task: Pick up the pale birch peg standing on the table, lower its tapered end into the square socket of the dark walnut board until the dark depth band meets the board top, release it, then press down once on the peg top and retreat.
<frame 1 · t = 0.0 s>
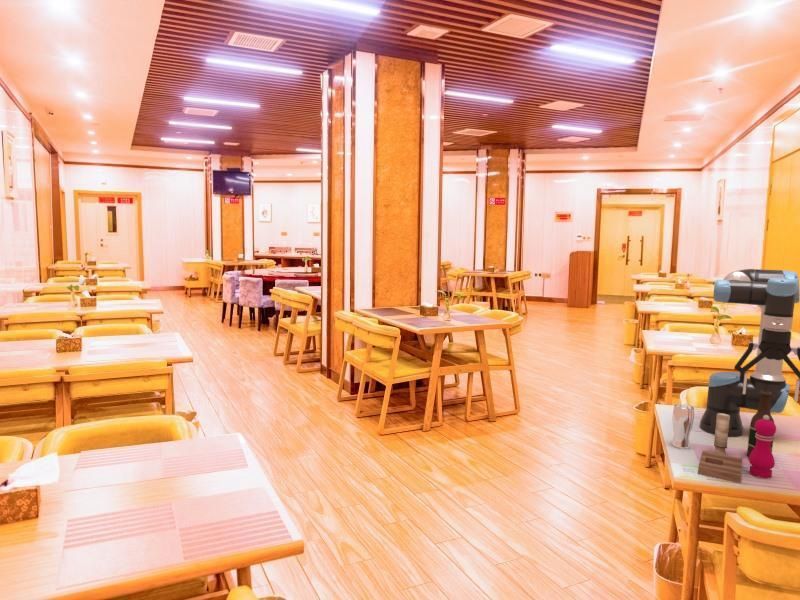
hand: (769, 397, 180), 28 cm above the table, tool pointing down, fingers open, 13 cm apart
beer bottle: (758, 458, 205), on the table
beer glass: (680, 446, 214), on the table
peg: (719, 452, 208), on the table
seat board: (720, 469, 194), on the table
pepper mill: (760, 474, 191), on the table
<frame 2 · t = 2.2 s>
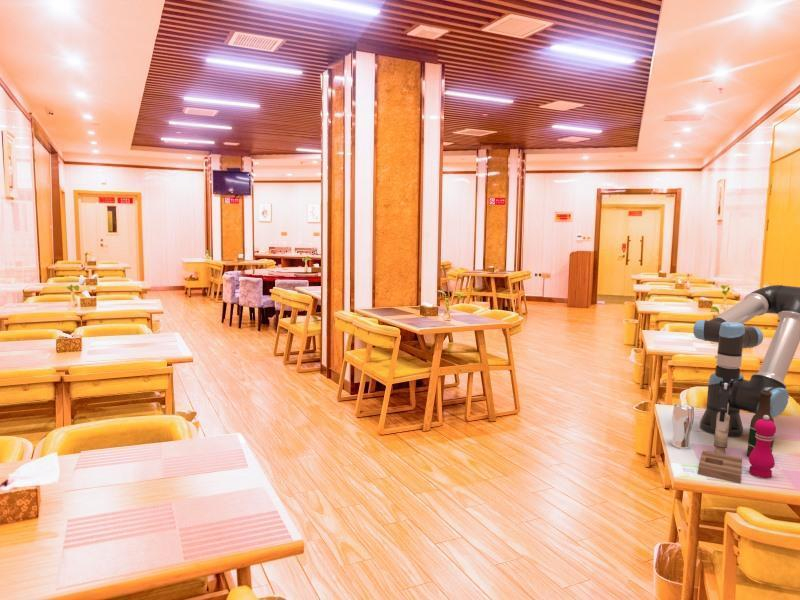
hand: (721, 425, 207), 10 cm above the table, tool pointing down, fingers open, 13 cm apart
nothing on the table moved.
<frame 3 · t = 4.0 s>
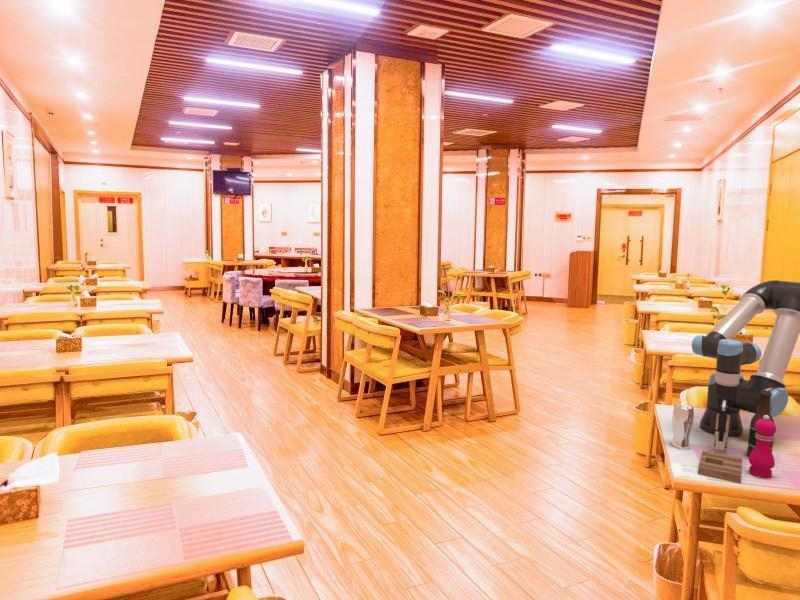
hand: (720, 447, 208), 2 cm above the table, tool pointing down, fingers closed on peg, 4 cm apart
peg: (719, 452, 208), on the table, touching gripper
everything else where it was.
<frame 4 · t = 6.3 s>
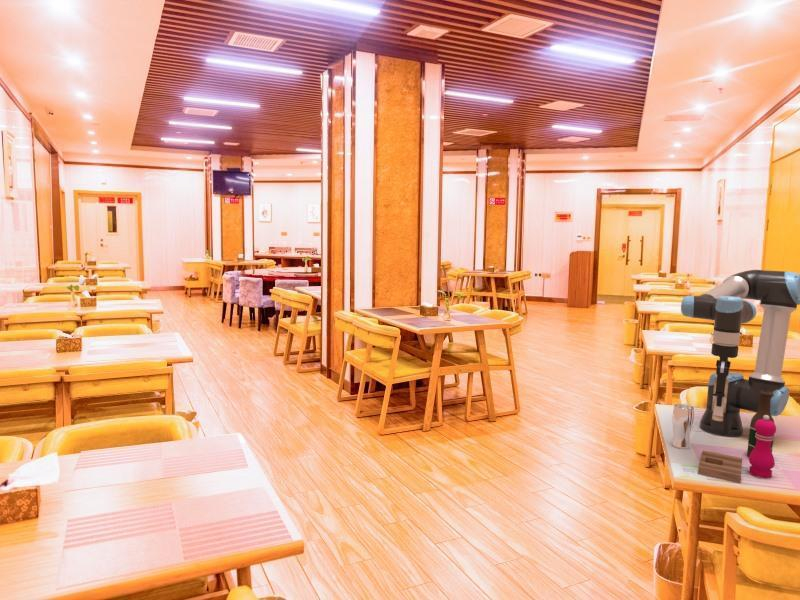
hand: (718, 413, 192), 19 cm above the table, tool pointing down, fingers closed on peg, 4 cm apart
peg: (717, 419, 192), point 17 cm above the table, touching gripper
everything else where it was.
when the fingers open (4 cm above the table, at t = 8.5 s): peg drops 2 cm, resting in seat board.
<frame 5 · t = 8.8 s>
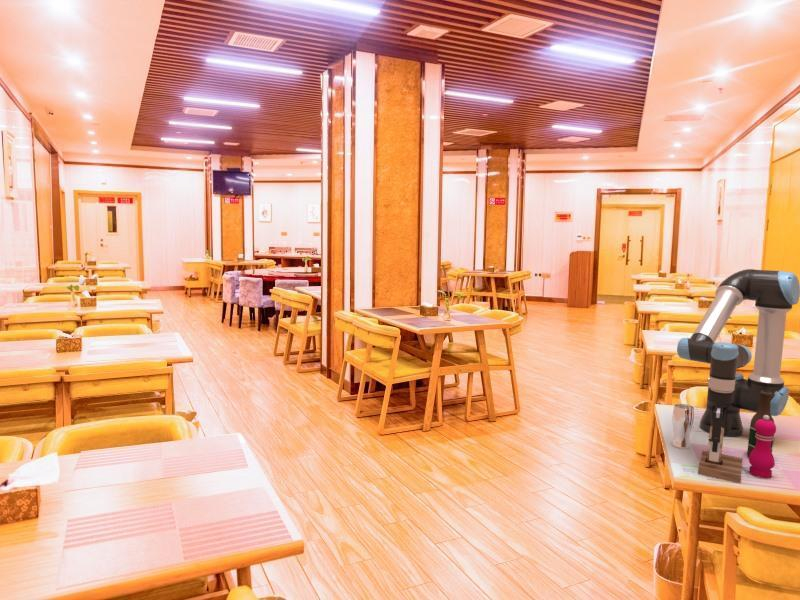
hand: (714, 456, 194), 4 cm above the table, tool pointing down, fingers open, 8 cm apart
peg: (713, 468, 194), resting in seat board
everything else where it was.
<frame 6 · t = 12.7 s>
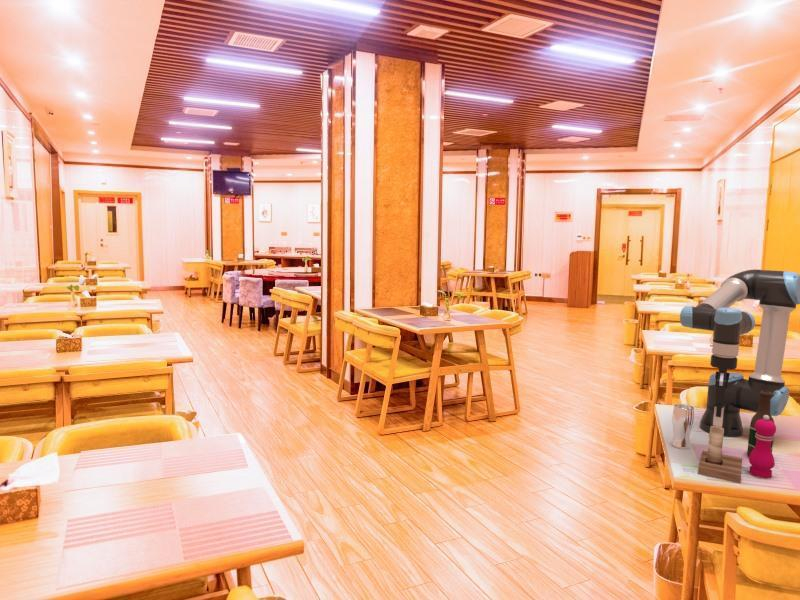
hand: (717, 425, 192), 15 cm above the table, tool pointing down, fingers closed
nothing on the table moved.
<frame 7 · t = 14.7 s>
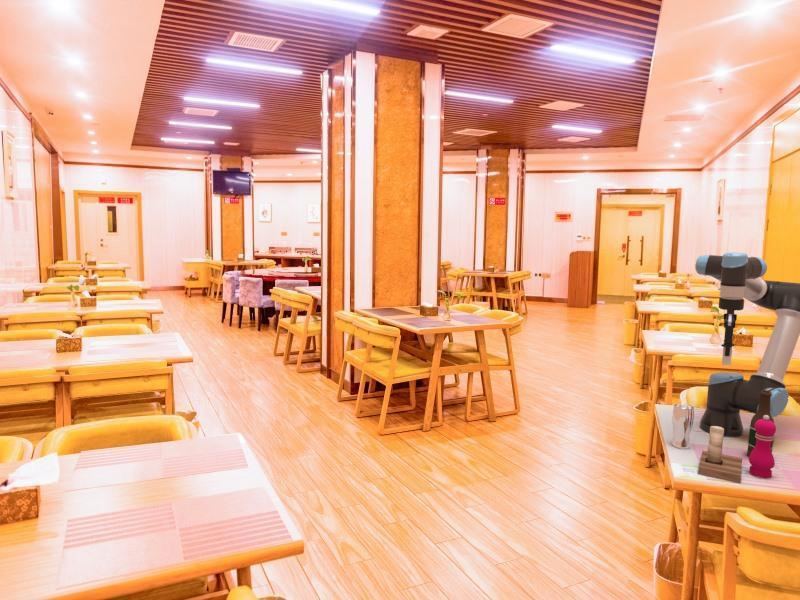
hand: (726, 364, 203), 32 cm above the table, tool pointing down, fingers closed
nothing on the table moved.
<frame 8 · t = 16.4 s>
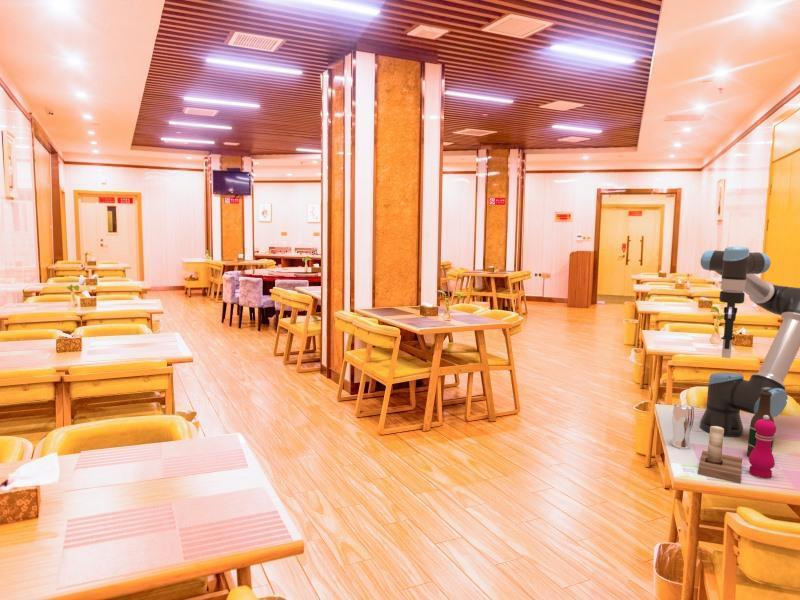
hand: (725, 357, 206), 34 cm above the table, tool pointing down, fingers closed
nothing on the table moved.
at the end: peg 0.0 cm from the target spot on the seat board, point 0.0 cm above the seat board's base; peg tilted 0°; the gripper is holding nothing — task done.
